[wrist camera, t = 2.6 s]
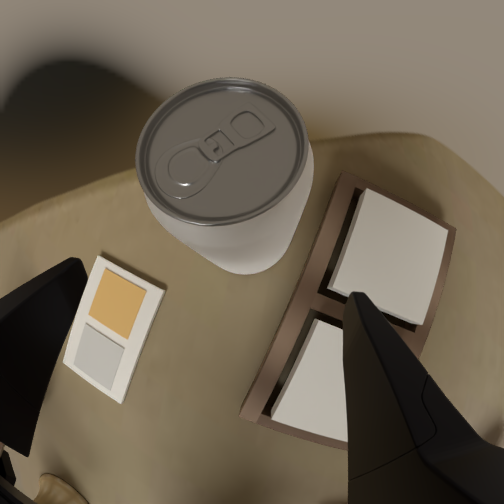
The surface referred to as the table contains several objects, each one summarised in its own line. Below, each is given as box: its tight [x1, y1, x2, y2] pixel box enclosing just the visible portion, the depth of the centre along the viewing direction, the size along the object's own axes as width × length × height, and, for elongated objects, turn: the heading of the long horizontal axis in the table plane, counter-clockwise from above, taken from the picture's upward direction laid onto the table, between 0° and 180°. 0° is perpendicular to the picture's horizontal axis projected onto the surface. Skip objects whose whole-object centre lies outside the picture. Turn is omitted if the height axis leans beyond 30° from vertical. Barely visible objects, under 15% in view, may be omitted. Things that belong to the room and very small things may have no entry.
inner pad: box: [271, 319, 348, 442], centre depth 15 cm, size 7×7×2 cm
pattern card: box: [63, 255, 165, 404], centre depth 19 cm, size 10×6×1 cm, turn 157°
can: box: [135, 77, 314, 274], centre depth 14 cm, size 6×6×12 cm
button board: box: [239, 171, 456, 451], centre depth 18 cm, size 18×10×2 cm, turn 157°
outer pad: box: [327, 188, 448, 325], centre depth 17 cm, size 7×7×2 cm
